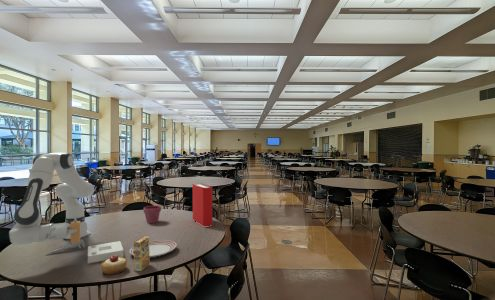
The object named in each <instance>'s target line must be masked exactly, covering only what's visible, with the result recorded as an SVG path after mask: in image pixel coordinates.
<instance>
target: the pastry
mask: <svg viewBox="0 0 495 300" xmlns="http://www.w3.org/2000/svg"><path fill="white" fill-rule="evenodd" d="M127 262H128V260H127V259H126V258H125V257H124V256H123V257H119V258H118V256H117V255H113V256H111V257H110V259H107V260H104V261H102V262H101V265H100V266H101V267H100V268H101V271H102V273H104V274H105V275H116V274H119V273H122V272H123V271H124V270H125V269H126V266H127V264H128V263H127Z"/></svg>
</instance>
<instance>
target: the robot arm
mask: <svg viewBox="0 0 495 300" xmlns="http://www.w3.org/2000/svg"><path fill="white" fill-rule="evenodd" d="M74 162H75V161H74V156H73V155H72V154H71V153H69V152H51V153H41V154H37V155H35V156H34V157H33V158H32V166H31V169H30V172H29V176H28V182H27V188H26V191H25V193H24V197H23V200H22V202H21V203H20V205H19V207H17V209H16V210H15V212H14V214H13V219H14V221H15V224H14V226H13V227H12V228H11V229H10V230H9V231H8V238H9V239H8V240H9V241H10V243H11V244H12V245H15V246H16V245H18V246H21V245H22V246H23V245H30V244H34V243H44V242H51V241H54V240H55V241H56V240H64V239H65V240H71V233H75V232H77V229H72V230H71V225H70V224H71V222H74V219H77V221H80V239H82V238H84V237H86V236H90V235H91V232H90V230H88V222H86V218H85V217H86V216H85V206H84V204H83V203H82V202H80V201H78V199H80V198H83V199H84V198H85V199H86V198H89V197H92V195H94V192H95V186H94V185H93V184H92V183H90V182H88V181H86V180H85V179H84V178H83V177H81V176H80V174H79V173H78V171H77V169H76V166H75V164H74ZM54 172H56V174H57V176H58V179H59V180H60V182H61V183H59V184H57V185H56V186H55V190H54V193H55V195H56V196H57V197H58V198H59V199H60V200H61V201H62V203H63V204H64V207H65V222H60V223H54V222H51V223H47V224H43V225H41V223H42V219H43V218H42V215H41V213H40V211H39V208H38V203H39V199H40V197H41V192H42V190H45V189H47V188H49V187H50V185H51V183H52V181H53V177H54Z"/></svg>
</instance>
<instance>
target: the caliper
mask: <svg viewBox="0 0 495 300" xmlns="http://www.w3.org/2000/svg"><path fill="white" fill-rule="evenodd" d="M81 245H82V246H81ZM76 247H78V248H79V250H82V247H83V249H84V248H85V240H83V239H82V238H80V242H76V243H70V244H69V245H66V246H63V247H60V248H57V249H54V250H51V251H48V252H47V253H45V254H44V256H49V255H53V254H55V253H58V252H62V251H65V250H68V249H73V248H76Z"/></svg>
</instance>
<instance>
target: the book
mask: <svg viewBox="0 0 495 300" xmlns="http://www.w3.org/2000/svg"><path fill="white" fill-rule="evenodd" d="M193 219H194V220H195V221H197V222H198V223H200V224H201V225H203V226H210V225H212V226H213V186H211V185H207V184H204V183H199V184H192V220H193ZM195 221H194V222H195ZM198 223H197V224H198Z"/></svg>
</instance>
